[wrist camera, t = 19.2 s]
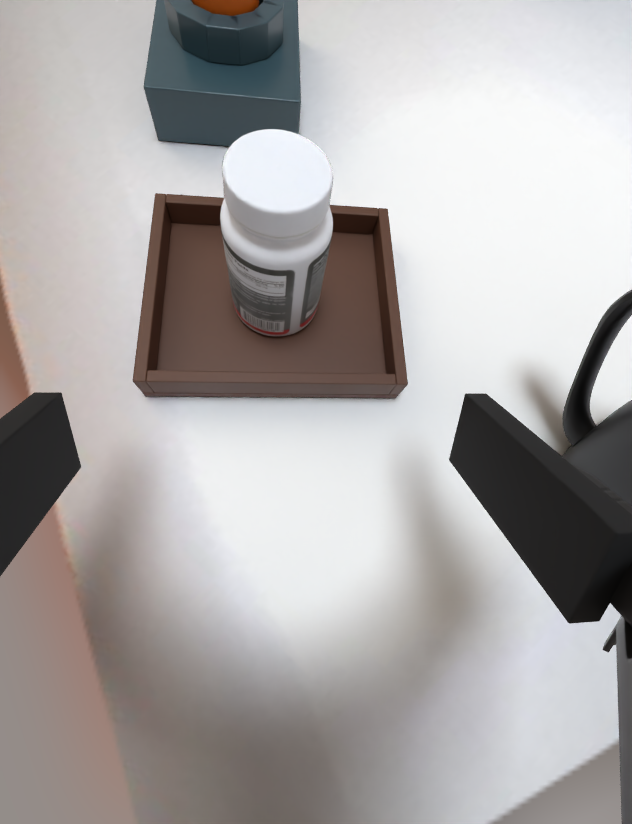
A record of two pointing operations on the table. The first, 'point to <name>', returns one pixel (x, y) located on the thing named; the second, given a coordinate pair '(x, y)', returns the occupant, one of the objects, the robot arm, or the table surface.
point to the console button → (227, 6)
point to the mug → (616, 435)
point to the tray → (249, 350)
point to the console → (223, 72)
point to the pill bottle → (276, 228)
